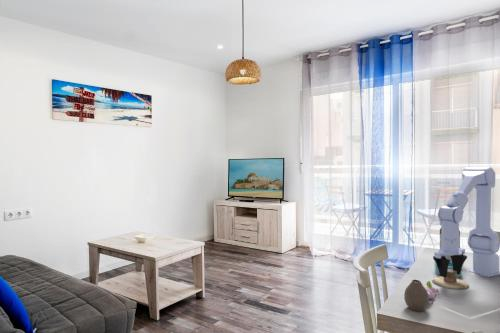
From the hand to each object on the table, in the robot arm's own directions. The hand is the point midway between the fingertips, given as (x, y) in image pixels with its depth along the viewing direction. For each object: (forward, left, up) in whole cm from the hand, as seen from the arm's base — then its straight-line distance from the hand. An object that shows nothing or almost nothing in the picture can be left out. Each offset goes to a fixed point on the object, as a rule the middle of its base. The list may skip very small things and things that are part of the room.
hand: (450, 275), depth 127 cm
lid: (0, 0, -3) cm, 3 cm away
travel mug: (-27, -19, -4) cm, 33 cm away
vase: (+29, +9, -4) cm, 30 cm away
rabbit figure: (+18, +5, -4) cm, 19 cm away
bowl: (-10, -8, -4) cm, 13 cm away
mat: (0, 0, -4) cm, 4 cm away
